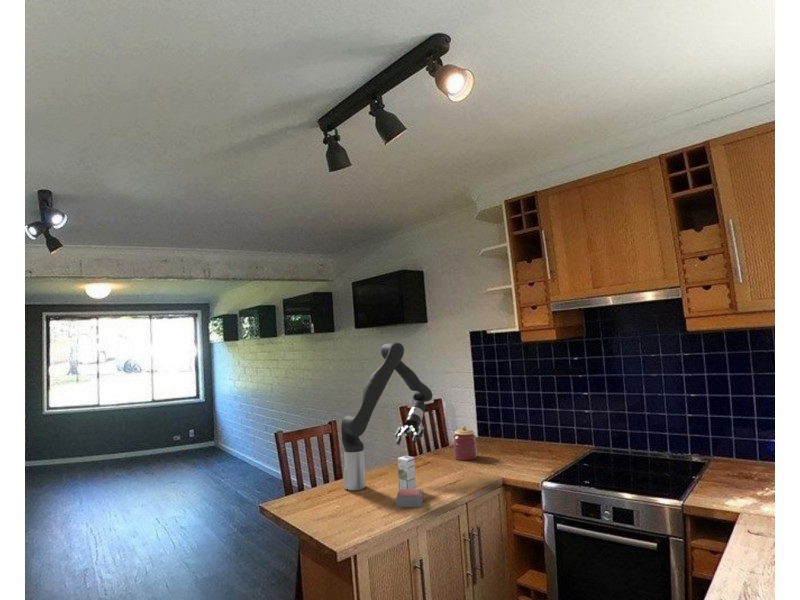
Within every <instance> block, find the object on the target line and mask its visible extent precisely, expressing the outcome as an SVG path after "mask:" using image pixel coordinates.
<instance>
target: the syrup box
mask: <svg viewBox="0 0 800 600" xmlns="http://www.w3.org/2000/svg"><path fill="white" fill-rule="evenodd" d="M415 463H416V462H415V457H414V456H410V455H402V456H399V457H398V458H397V473H398V474H397V475H398V476H397V477H398V490H399V489H417V485H416V469H415V468H416V466H415Z"/></svg>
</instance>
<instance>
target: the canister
mask: <svg viewBox="0 0 800 600" xmlns="http://www.w3.org/2000/svg"><path fill="white" fill-rule="evenodd" d="M474 433H475V430H472V428H467V427H466V425H462V426H461V428H458V429H456V430H455V431H454V435H452V438H453V442H452V443H453V457H454V459H455V460H458V461H472V460H473V461H474V460H475V459H477V457H478V454H477V453H478V452H477V441H476V437H477V435H476V434H474Z"/></svg>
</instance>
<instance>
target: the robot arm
mask: <svg viewBox="0 0 800 600" xmlns="http://www.w3.org/2000/svg"><path fill="white" fill-rule="evenodd" d="M404 354H405V347H404V345H403V344H402V343H400V342H387V343H384V344H383V345H382V347H381V348H380V355H381V357H382V358H383V359H384V361H383V363H382V364H381V365H380V366H379V367H378V368H377V369H376V370H374V372H373V373H372V374H371V375H370V377H369V378H368V380H367V382H366V383H365V385H364V387H363V390H362V399H361V400H362V401H361V405H360V407H359V409H358V411H357V413H356V414H355V415H354V414H348V415H346V416H344V418H343V419H342V422H341V427H340V429H341V430H340V431H341V442H342V446H343V450H344V455H343V456H344V468H343V488H344V490H347V489H348V491H360V490H363V489H365V487H366V477H365V476H366V473H365V472H366V471H365V470H366V469H365V446H364V443H363V442H362V441H361V438H360V437H361V436H362V435H363V434H364V433H365V432H366V429H368V425H369V423H370V420H371V417H372V415H373V413H374V410H375V408H376V406H377V404H378V402H379V399H380V398H381V396H382V394H383V392H384V390H385V389H386V387H387V385H388V382H389V381H390V379H391V377H392V375H393V374H394V371H395V372H396V373H397V374H398V375H399V376H400V377H401V378H402V380H403V381H404V382H405V384H406V385H407V387H408V389H410V391H412V392H413V394H412V402H411V403H412V404H411V407H410V410H409V411H408V413H407V416H406V419H405V422H404V426H400V425H399V426H398V427H397V429H396V431H395V434H394V435H395V438H396V441H395V443H396V445H397V446H400V444H401V441H402V439H403V438H405V437H407V436H413V437H412V439H411V443H412V445H416V443H417V441H418V439H419V438H422V437H423V435H424V431H425V427H424V426H423V424H422V420H423V417H424V413H425V411H426V404H425V403H426V402H431V400H432V399H433V392H432V390H431V389H430V388H429V387H428V386H427V385H426V384H425V383H423V382H422V381H421V380H420V379H419V377H418V376H417V374H416V373H415V371H413V369H412V368H410V367H409V366H407V365H406V363H404V362H403V361H402V360H403V357H404Z"/></svg>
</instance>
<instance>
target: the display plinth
mask: <svg viewBox="0 0 800 600" xmlns="http://www.w3.org/2000/svg"><path fill="white" fill-rule="evenodd" d="M423 491H424V490H423V488H416V489H399V488H398V492H397V495H396V508H422V506H423V500H424V492H423Z"/></svg>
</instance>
